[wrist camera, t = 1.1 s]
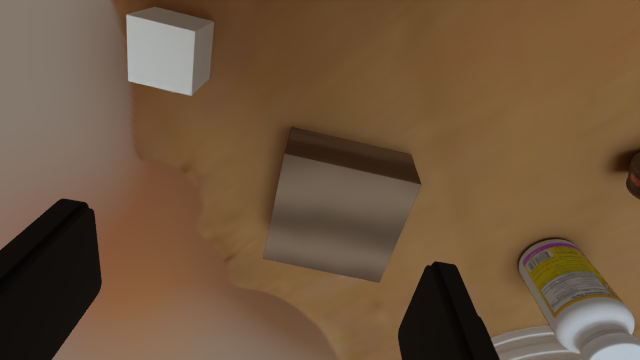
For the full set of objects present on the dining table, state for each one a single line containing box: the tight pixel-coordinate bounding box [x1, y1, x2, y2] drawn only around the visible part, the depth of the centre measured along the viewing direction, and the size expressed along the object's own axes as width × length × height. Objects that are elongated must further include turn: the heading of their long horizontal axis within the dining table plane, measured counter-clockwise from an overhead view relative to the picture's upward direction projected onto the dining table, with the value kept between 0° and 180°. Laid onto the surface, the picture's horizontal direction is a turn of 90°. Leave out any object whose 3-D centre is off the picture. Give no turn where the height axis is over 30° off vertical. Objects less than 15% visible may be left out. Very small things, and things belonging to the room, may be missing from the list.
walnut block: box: [263, 127, 421, 283], centre depth 38 cm, size 12×12×6 cm
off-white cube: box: [126, 7, 214, 96], centre depth 31 cm, size 5×5×5 cm
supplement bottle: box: [519, 239, 640, 360], centre depth 38 cm, size 7×7×13 cm
